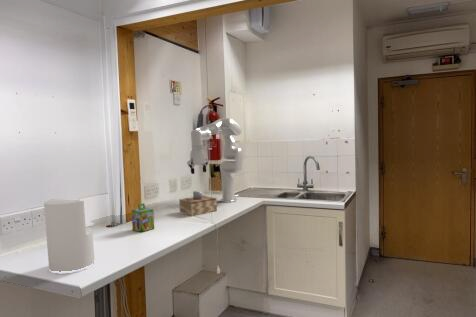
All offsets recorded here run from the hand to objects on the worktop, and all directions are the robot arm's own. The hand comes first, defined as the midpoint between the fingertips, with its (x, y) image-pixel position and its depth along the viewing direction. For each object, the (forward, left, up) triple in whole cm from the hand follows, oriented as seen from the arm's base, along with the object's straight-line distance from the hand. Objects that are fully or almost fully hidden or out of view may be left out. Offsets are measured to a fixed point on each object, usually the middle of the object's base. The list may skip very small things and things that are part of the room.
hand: (198, 172), depth 242 cm
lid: (+2, +1, -19) cm, 19 cm away
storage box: (+2, +1, -27) cm, 27 cm away
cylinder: (+95, +48, -27) cm, 110 cm away
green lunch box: (+49, +16, -27) cm, 59 cm away
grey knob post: (+2, +1, -18) cm, 18 cm away
